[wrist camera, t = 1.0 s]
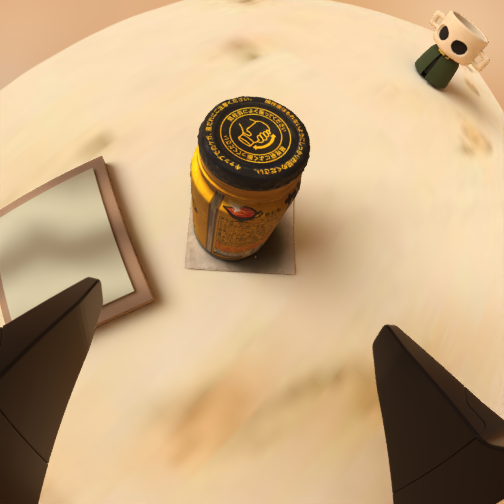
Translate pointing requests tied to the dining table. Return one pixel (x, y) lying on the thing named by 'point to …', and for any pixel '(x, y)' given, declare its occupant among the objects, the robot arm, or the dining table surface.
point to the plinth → (69, 245)
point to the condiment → (246, 187)
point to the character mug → (452, 48)
